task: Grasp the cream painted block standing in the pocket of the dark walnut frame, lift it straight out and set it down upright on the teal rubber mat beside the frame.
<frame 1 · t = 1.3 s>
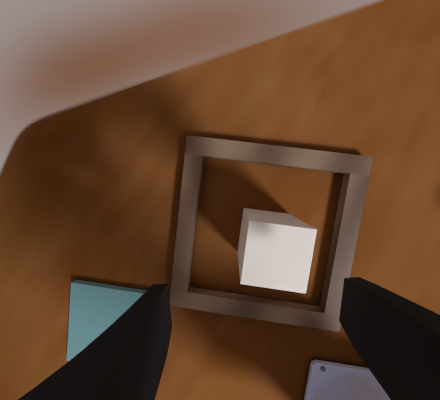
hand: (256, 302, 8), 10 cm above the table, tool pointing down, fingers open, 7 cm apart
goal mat: (113, 324, 20), on the table
pocket plate: (262, 232, 18), on the table
cream block: (262, 232, 18), resting in pocket plate
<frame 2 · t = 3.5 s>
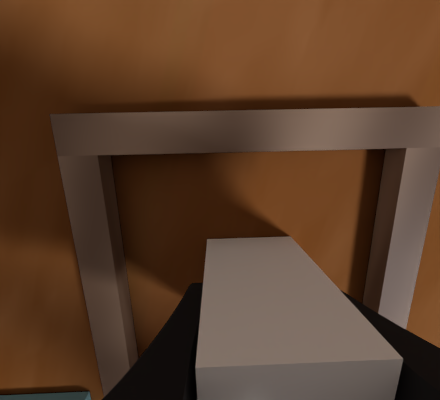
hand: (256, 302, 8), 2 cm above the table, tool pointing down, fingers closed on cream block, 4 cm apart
pocket plate: (248, 275, 10), on the table
cream block: (248, 275, 10), resting in pocket plate, touching gripper
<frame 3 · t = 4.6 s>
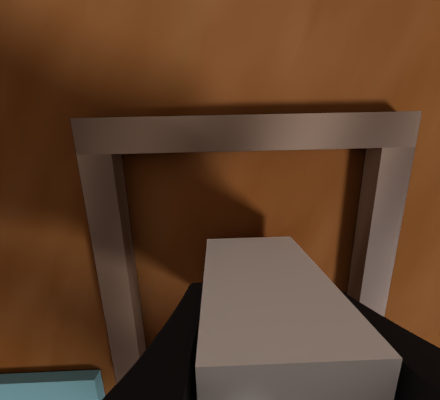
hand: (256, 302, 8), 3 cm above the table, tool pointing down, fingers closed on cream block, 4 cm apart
pocket plate: (244, 262, 11), on the table
cream block: (248, 275, 10), point 1 cm above the table, touching gripper
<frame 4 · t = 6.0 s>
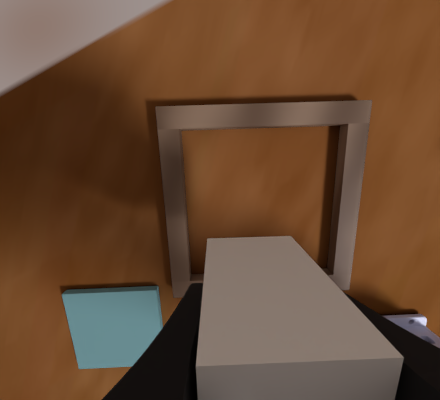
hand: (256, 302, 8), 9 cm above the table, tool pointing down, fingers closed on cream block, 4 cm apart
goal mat: (119, 325, 19), on the table
pocket plate: (260, 205, 17), on the table
cream block: (248, 274, 10), point 7 cm above the table, touching gripper
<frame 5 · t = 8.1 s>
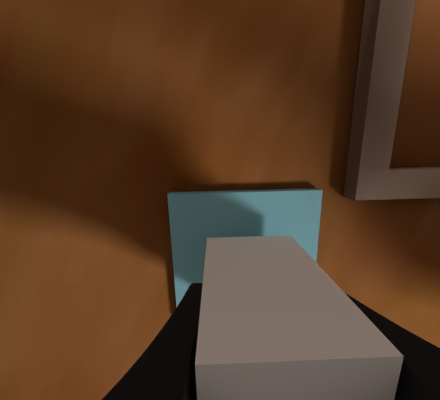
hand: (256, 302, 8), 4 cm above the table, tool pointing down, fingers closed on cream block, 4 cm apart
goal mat: (243, 257, 12), on the table
cream block: (248, 273, 10), point 2 cm above the table, touching gripper
when the fingers open (4 cm above the table, at t = 8.8 s): cream block drops 1 cm, resting on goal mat.
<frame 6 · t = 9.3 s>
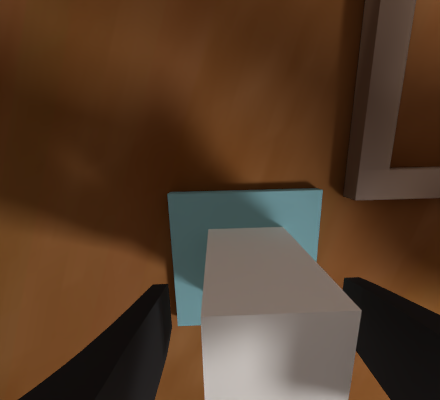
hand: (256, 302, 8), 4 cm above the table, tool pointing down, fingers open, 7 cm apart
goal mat: (243, 257, 12), on the table
cream block: (245, 261, 11), point 1 cm above the table, touching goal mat
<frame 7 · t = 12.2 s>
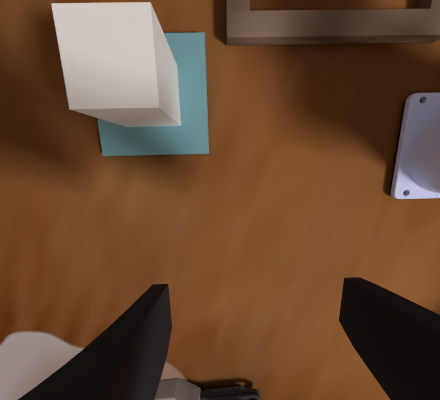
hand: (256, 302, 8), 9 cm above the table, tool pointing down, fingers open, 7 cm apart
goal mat: (153, 99, 15), on the table
cream block: (151, 96, 15), point 1 cm above the table, touching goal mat
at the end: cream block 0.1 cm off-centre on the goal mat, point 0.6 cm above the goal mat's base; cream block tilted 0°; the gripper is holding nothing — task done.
